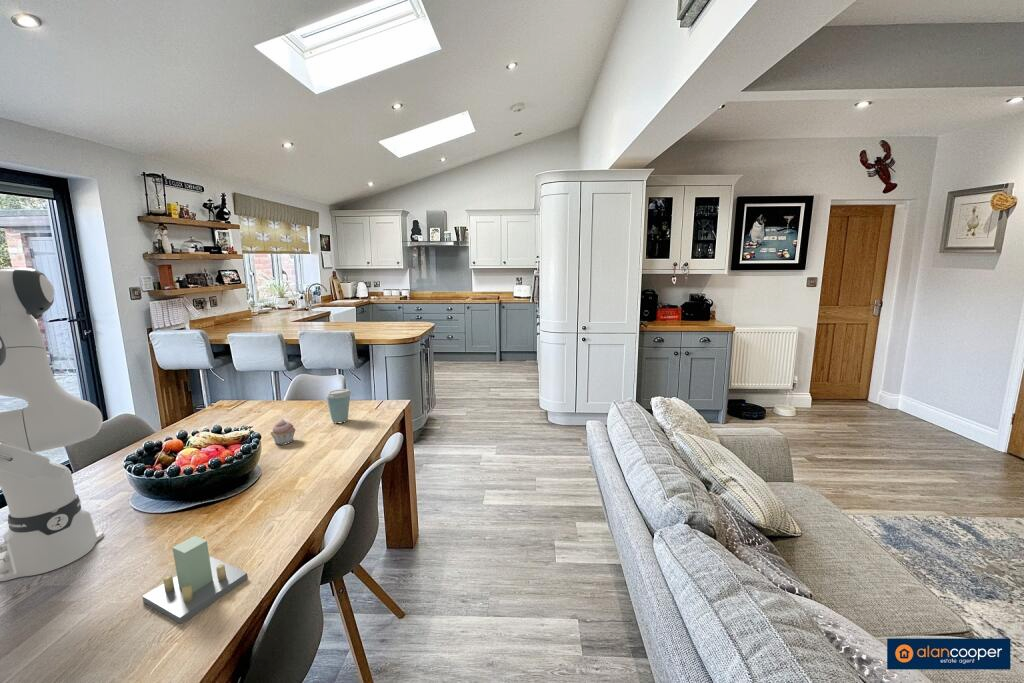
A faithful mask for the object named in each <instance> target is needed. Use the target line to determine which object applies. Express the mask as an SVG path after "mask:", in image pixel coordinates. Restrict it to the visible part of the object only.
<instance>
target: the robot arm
mask: <svg viewBox="0 0 1024 683" xmlns="http://www.w3.org/2000/svg"><path fill="white" fill-rule="evenodd" d="M54 301H55V289H54V286H53V284H52V282H51V281H50V279H48V277H47V276H46V275H45V274H44V272H41V271H40V270H38V269H34V268H26V267H16V268H14V269H9V268H8V269H7V268H4V269H2V268H1V269H0V396H3V397H9V398H15V399H16V398H17V399H20V400H24V401H25V402H26V403H27V406H26V407H23V408H19V409H13V410H7V411H0V489H1V491H2V494H3V496H4V499H5V501H6V504H7V508H8V511H9V514H8V516H7V524H8V530H7V531H6V532H5V533H4V534H3V542H0V582H5V581H6V582H7V581H11V580H13V579H17V578H22V577H31V576H35V575H36V576H37V575H41V574H45V573H49V572H51V571H54V570H57V569H60V568H62V567H65V566H66V565H69V564H72V563H73V562H76V561H77V560H78V559H81V558H82V557H84V556H85V555H87V554H88V553H89V552H90V551H92V549H94V547H95V546H96V544H97V542H99V540H102V538H104V537H105V534H104V531H101V530H96V529H95V525H94V521H93V518H92V514H91V512H90V511H88V510H86V509H85V510H84V509H82V504H81V503H82V502H81V499H80V498H79V497H80V496H79V495H78V494H77V493H76V490H75V485H74V479H73V476H72V475H73V474H72V471H71V470H70V468H69V467H67V466H66V465H64V464H61V463H57V462H51V460H50V458H48V457H46V456H45V455H44V456H43V455H41V454H39V453H40V452H44V451H49V450H54V449H58V448H62V447H67V446H72V445H75V444H78V443H81V442H84V441H85V440H86V441H87V440H89V439H91V438H94V437H95V436H96V435H97V434H98V432H100V430H101V428H102V425H103V420H104V419H103V414H102V411H101V410H100V409H99V408H98V407H97V406H96V405H95V404H94V403H92V402H90V401H88V400H84V399H81V398H79V397H77V396H74V395H72V394H71V393H69V392H68V391H66V390H65V389H64V388H63V387H61V385H59V383H58V382H57V381H56V379H55V376H54V374H53V371H52V368H51V365H50V362H49V358H48V352H47V348H46V347H47V346H46V344H45V341H44V337H43V335H42V332H41V330H40V326H38V323H37V321H36V320H39V319H41V318H42V317H43V314H44V313H45V312H47V311H49V310H50V308H51V307H52V305H53V304H54Z"/></svg>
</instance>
